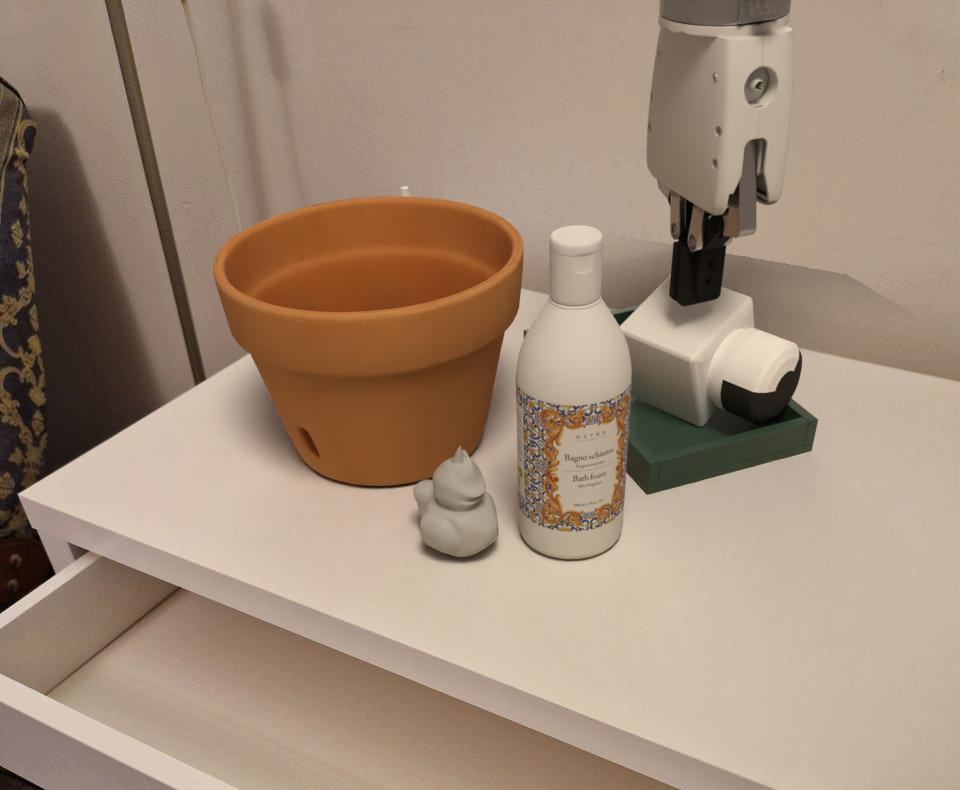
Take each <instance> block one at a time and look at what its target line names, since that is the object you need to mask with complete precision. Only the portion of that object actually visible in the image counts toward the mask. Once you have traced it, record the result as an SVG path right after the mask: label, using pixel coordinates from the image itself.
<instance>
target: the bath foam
mask: <svg viewBox="0 0 960 790" xmlns="http://www.w3.org/2000/svg"><path fill="white" fill-rule="evenodd" d="M548 241H549V242H548V243H549V244H548V245H549V248H548V251H549V253H548V254H549V257H548V258H549V263H548V266H549V267H548V269H549V271H548V272H549V273H548V275H549V278H548V282H549V283H548V285H549V286H548V287H549V297H548V299H547V300H546V302H545V303H544V305H543V306H542V308H541V309H540V311H539V312H538V314H537V315H536V316H535V318H534V320H533V321H532V322H531V325H530V326H529V328H528V329H529V330H528V332H527V333H526V336H525V338H524V337H523V340H522V343H521V345H520V348H519V352H518V357H517V361H516V371H515V400H516V401H515V409H516V411H515V412H516V440H517V441H516V447H517V449H516V450H517V451H516V452H517V455H516V456H517V489H518V493H517V494H518V518H519V519H518V521H519V522H518V523H519V531H520V535H521V536H522V538H523V540H524V541H525V543H526V544H528V546H529V547H531V548H532V549H533V550H535V551H537V552H539V553H540V554H542V555H545V556H547V557H551V558H555V559H562V560H580V559H581V560H582V559H587V558H592V557H595V556H597V555H600V554H602V553H604V552H606V551H607V550H609V549H610V548H611V547H613V546H614V544H616V542H617V541H618V540H619V538H620V536H621V534H622V532H623V531H622V530H623V525H624V524H623V523H624V510H625V508H624V507H625V500H626V499H625V498H626V497H625V496H626V481H627V471H626V467H627V451H628V435H629V420H630V404H631V388H632V367H631V358H630V353H629V348H628V345H627V342H626V339H625V337H624V334H623V332H622V330H621V328H620V326H619V324H618V323H617V321H616V319H615V318H614V316H613V315H612V313H611V312H610V311H611V310H610V309H609V307H608V305H607V304H606V302H605V300H604V299H603V298H602V283H603V282H602V281H603V257H604V236H603V233H602V232H601V230H599V228H596V227H593V226H589V225H583V224H582V225H581V224H573V225H566V226H562V227H559V228H556V229H554V230H553V231H552V232H551V233H550V235H549V240H548Z"/></svg>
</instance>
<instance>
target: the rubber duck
mask: <svg viewBox="0 0 960 790" xmlns="http://www.w3.org/2000/svg"><path fill="white" fill-rule="evenodd" d="M486 487H487V486H486V482H485V479H484V476H483V474H482V471H481V469H480V467H479V466H478V465H477V464H476V462H475V461H474V460H473V459H472V458H471V457H470V455H468V454H467V452H466V451H465V450H464V449H463V450H462V449H461V446H459V447H458V449H457V451H456V453H455V455H454V457H452V458H450V459H448V460H446V461H444V462H443V463H442V464H441V465H440V466H439V467H438V468H437V469H436V470H435V472H434V474H433V477H432V480H431V479H424V480H420V481H417V482H416V484H415V485H414V486H413V488H412V492H413V494H412V495H413V497H414V499H415V501H416V505H417V508H418V515H419V517H420V521H419V532H420V537H421V539H422V541H423V542H424V544H425V545H427V546H429V547H431V548H432V549H435V550H436V551H438V552H440V553H443V554H448V555H450V556H453V557H457V558H466V557H470V556H473V555H476V554H478V553H480V552H482V551H483V550H485V549H486V548H488V547H489V546H490V545H491V544H493V543H494V542H495V541H496V540H497V539H498V537H499V530H500V529H499V520H498V515H497V514H498V513H497V508H496V504H495V501H494V499H493V497H492V496H491V494H490V493H489V492H488V491H486Z"/></svg>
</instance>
